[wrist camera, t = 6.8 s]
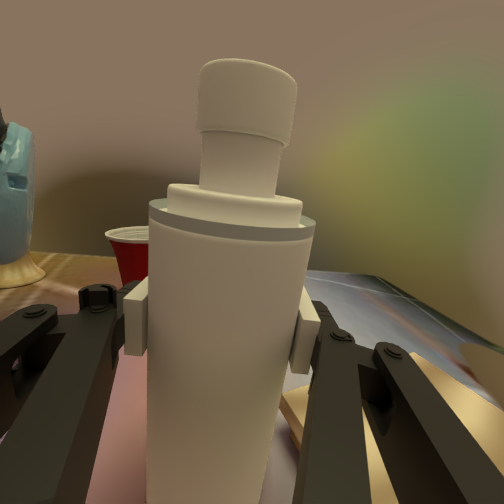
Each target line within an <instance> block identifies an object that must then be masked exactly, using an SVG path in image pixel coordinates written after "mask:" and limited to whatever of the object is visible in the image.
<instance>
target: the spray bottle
mask: <svg viewBox="0 0 504 504" xmlns="http://www.w3.org/2000/svg"><path fill="white" fill-rule="evenodd" d="M296 97H297V84H296V82H295V80H294V79H293V78H292V77H291V76H290V75H289V74H287V73H286V72H284V71H282V70H280V69H278V68H276V67H273V66H271V65H268V64H265V63H261V62H257V61H252V60H246V59H219V60H214V61H211V62H208V63H206V64H205V65H204V66H203V67H202V68H201V70H200V73H199V87H198V104H197V121H196V130H197V133H198V134H200V135H201V136H202V152H201V167H200V183H199V185H190V184H170V185H169V186H168V190H167V199H156V200H152V201H150V202H149V252H148V327H147V466H146V504H259V501H260V496H261V491H262V486H263V481H264V476H265V471H266V467H267V462H268V457H269V452H270V447H271V442H272V437H273V433H274V428H275V423H276V418H277V413H278V408H279V403H280V399H281V394H282V389H283V384H284V379H285V374H286V369H287V365H288V360H289V355H290V350H291V345H292V340H293V335H294V330H295V325H296V320H297V315H298V310H299V305H300V300H301V295H302V290H303V285H304V280H305V275H306V270H307V265H308V260H309V255H310V250H311V245H312V240H313V235H314V230H315V225H316V222H315V221H314V220H312V219H310V218H308V217H305V216H303V215H301V212H302V206H303V204H302V202H301V201H299V200H296V199H293V198H288V197H283V196H277V195H275V190H276V183H277V176H278V170H279V163H280V156H281V150H282V148H283V147H286V146H288V144H289V141H290V134H291V128H292V122H293V116H294V109H295V103H296Z"/></svg>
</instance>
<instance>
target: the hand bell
mask: <svg viewBox="0 0 504 504" xmlns="http://www.w3.org/2000/svg"><path fill="white" fill-rule="evenodd" d="M45 275H46V273H45V272H44V271H43V270H42V269H41V268H38V267H37V266H36V265H35V264H34V263H33V261H32V259H31V257H30V255H29V251H27V253H26V254H25V255H24V256H23V257H22V258H20V259H19V260H17V261H15V262H13V263H9V264H6V265H0V289H4V288H14V287H20V286H24V285H28V284H32V283H35V282H37V281H39V280H41V279H43V278H44V277H45Z"/></svg>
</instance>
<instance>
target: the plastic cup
mask: <svg viewBox="0 0 504 504" xmlns="http://www.w3.org/2000/svg"><path fill="white" fill-rule="evenodd" d="M105 235H106V237H107V239H109V241H110V242H111V244H112V247H113V249H114V253H115V255H116V258H117V263H118V267H119V271H120V275H121V279H122V284H123V286H124V285H126V284H127V283H129V282H132V281H134V280H139V281H143V280H144V279H145V278H146V277H147V276H148V252H149V226H137V227H127V228H118V229H114V230H110V231H107V232H105Z"/></svg>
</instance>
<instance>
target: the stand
mask: <svg viewBox="0 0 504 504" xmlns="http://www.w3.org/2000/svg"><path fill="white" fill-rule="evenodd" d="M409 355H410V356H411V357H412V358H413V360H414V361H415V362H416V363H417V365H418V366H419V367H420V369H421V370H422V371H423V373H424V374H425V375H426V376H427V378H428V379H429V380H430V382H431V383H432V384H433V385H434V387H435V388H436V389H437V391H438V392H439V393H440V395H441V396H442V397H443V398H444V400H445V401H446V402H447V404H448V405H449V406H450V407H451V409H452V410H453V411H454V413H455V414H456V415H457V417H458V418H459V419H460V420H461V422H462V423H463V424H464V426H465V427H466V428H467V429H468V431H469V432H470V433H471V435H472V436H473V437H474V439H475V440H476V441H477V442H478V444H479V445H480V446H481V448H482V449H483V450H484V451H485V453H486V454H487V455H488V457H489V458H490V459H491V461H492V462H493V463H494V464H495V466H496V467H497V468H498V470H499V471H500V472H501V473H502V475H503V476H504V412H503V411H501V410H500V409H498V408H497V407H495V406H494V405H492V404H491V403H489V402H488V401H486V400H485V399H483V398H482V397H480V396H479V395H477V394H476V393H474V392H473V391H471V390H470V389H468V388H467V387H465V386H464V385H462V384H461V383H459V382H458V381H456V380H455V379H453V378H452V377H450V376H449V375H447V374H446V373H444V372H443V371H441V370H440V369H438V368H437V367H435V366H434V365H432V364H431V363H429V362H428V361H426V360H425V359H423V358H422V357H420V356H419V355H417V354H416V353H415V352H413V353H410V354H409ZM309 386H310V385H307V386H303V387H300V388H297V389H294V390H290V391H287V392H284V393H282V394H281V399H280V403H279V409H280V410H281V412H282V414H283V415H284V417H285V419H286V420H287V422H288V424H289V425H290V427H291V429H292V430H291V434H290V437H291V439H292V441H293V443H294V444H295V446H296V448H297V450H298V451H299V453H300V449H301V442H302V436H303V429H304V423H305V416H306V410H307V403H308V396H309V395H308V390H309ZM362 412H363V422H364V431H365V441H366V451H367V460H368V470H369V480H370V489H371V499H372V504H399V503H398V500H397V497H396V495H395V492H394V489H393V487H392V484H391V482H390V479H389V476H388V474H387V471H386V468H385V466H384V463H383V460H382V458H381V455H380V453H379V450H378V447H377V445H376V442H375V439H374V437H373V434H372V431H371V429H370V426H369V424H368V421H367V418H366V416H365V413H364V410H363V408H362Z"/></svg>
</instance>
